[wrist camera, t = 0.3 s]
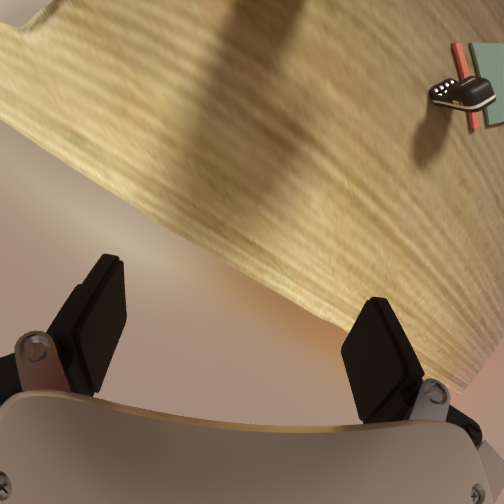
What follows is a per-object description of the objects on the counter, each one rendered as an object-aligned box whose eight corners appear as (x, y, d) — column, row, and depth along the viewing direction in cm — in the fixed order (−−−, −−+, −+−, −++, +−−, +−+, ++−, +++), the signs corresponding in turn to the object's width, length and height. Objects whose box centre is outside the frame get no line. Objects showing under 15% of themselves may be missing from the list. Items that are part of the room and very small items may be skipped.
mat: (468, 42, 31) (472, 42, 30) (505, 43, 29) (508, 43, 28) (486, 123, 39) (489, 124, 38) (519, 117, 37) (522, 118, 36)
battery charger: (450, 72, 35) (493, 75, 25) (458, 91, 37) (501, 99, 27) (423, 85, 37) (465, 90, 27) (432, 106, 39) (475, 115, 29)
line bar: (451, 43, 32) (455, 43, 31) (457, 43, 32) (461, 42, 31) (470, 127, 40) (474, 128, 39) (475, 126, 39) (479, 127, 38)
